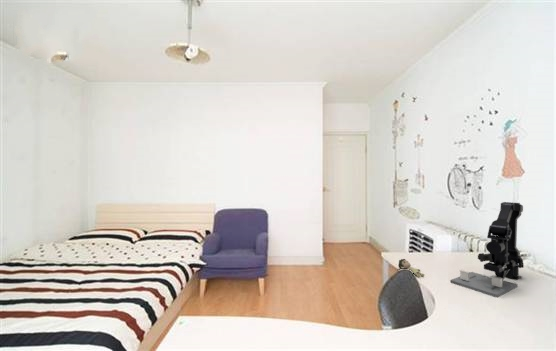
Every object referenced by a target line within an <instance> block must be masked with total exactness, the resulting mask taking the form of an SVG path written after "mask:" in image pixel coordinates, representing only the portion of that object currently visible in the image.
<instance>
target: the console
mask: <svg viewBox="0 0 556 351" xmlns="http://www.w3.org/2000/svg"><path fill="white" fill-rule="evenodd" d="M469 272H470V280H469V281H467V280H463V279H460V276H458V277H455V278H452V279H450V280H449V282H450V283H451V284H454V285H457V286H460V287H464V288H467V289H470V290H473V291H476V292H478V293H481V294H485V295H488V296H491V297H494V298H499V297H501V296H503V295H504V294H507V293H509V292H511V291H513V290H515V289H517V288H518V287H519V285H518V283H515V282H514V283H513V282H510V281H506V280H504V279H503V281H502V287H497V286H494V285H492V277H491V276H492V275H486V274H481V273H478V272H474V271H469Z"/></svg>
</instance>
